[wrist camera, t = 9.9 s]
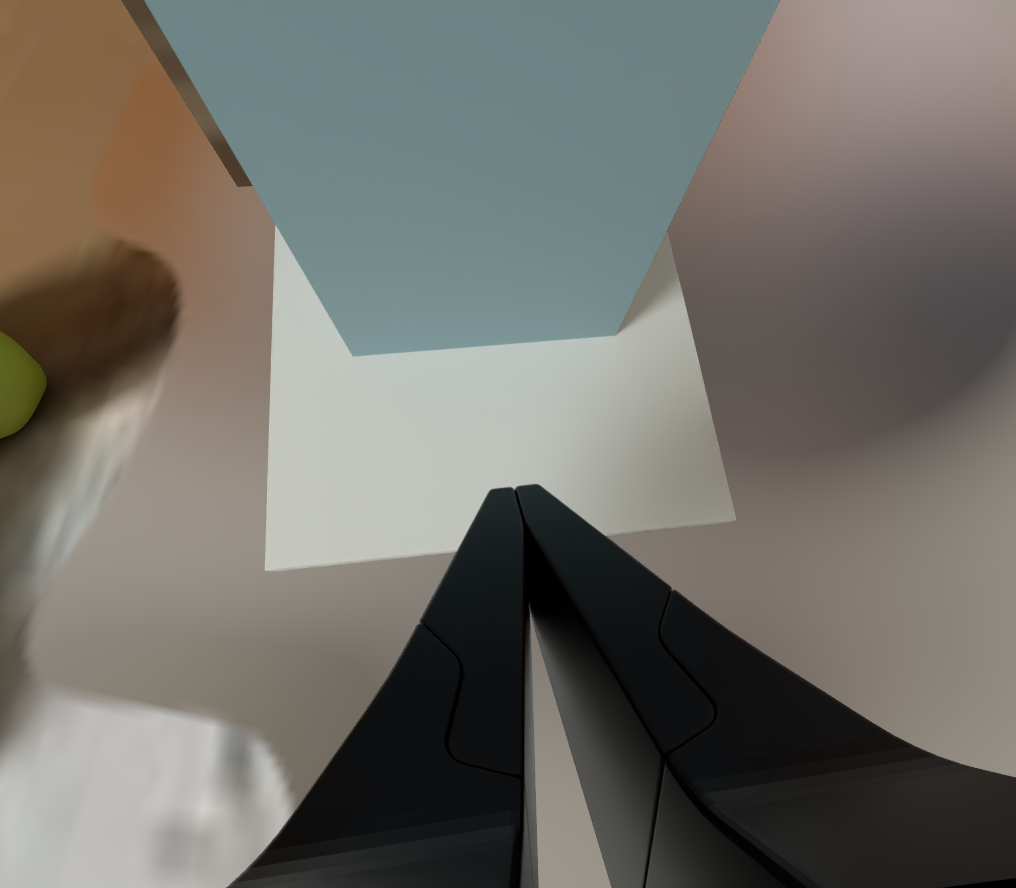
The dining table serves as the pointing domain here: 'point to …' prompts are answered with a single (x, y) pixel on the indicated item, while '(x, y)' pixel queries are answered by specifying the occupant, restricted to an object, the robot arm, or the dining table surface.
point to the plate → (482, 430)
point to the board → (185, 87)
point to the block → (468, 149)
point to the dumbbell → (18, 386)
